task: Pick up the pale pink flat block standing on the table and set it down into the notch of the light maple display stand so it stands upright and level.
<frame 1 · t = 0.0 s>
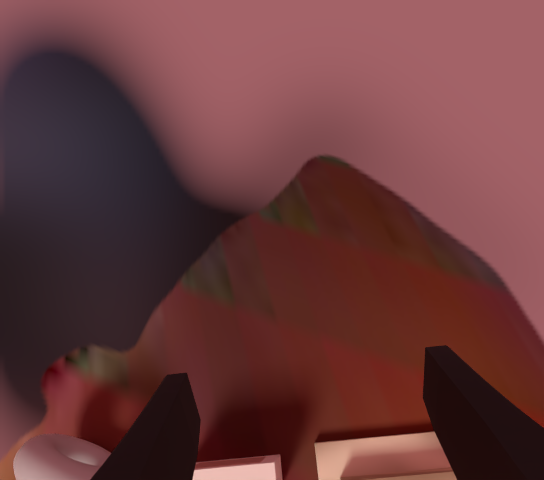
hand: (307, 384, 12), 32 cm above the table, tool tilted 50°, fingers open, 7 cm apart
pale pink flat block: (236, 472, 40), on the table
donut: (100, 463, 42), on the table
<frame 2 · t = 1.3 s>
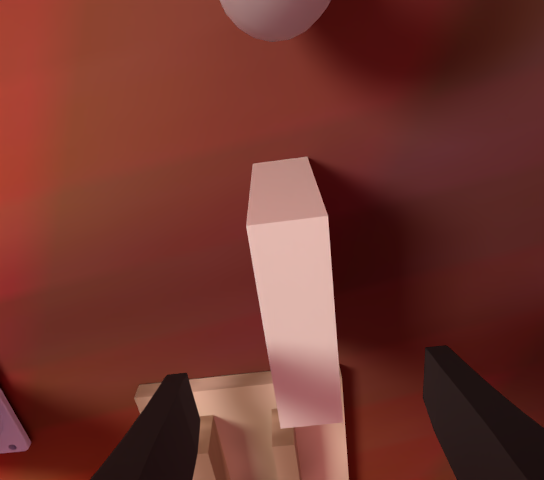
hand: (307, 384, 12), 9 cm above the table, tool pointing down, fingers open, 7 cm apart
pale pink flat block: (290, 246, 21), on the table
notched stand: (259, 471, 28), on the table
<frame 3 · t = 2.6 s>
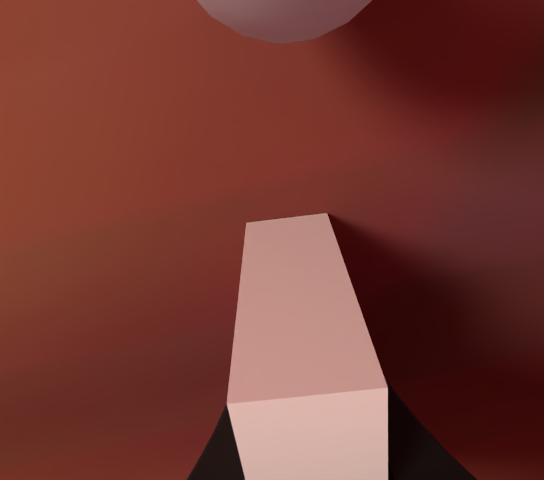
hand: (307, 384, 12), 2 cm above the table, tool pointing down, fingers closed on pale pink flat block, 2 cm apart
pale pink flat block: (300, 333, 15), on the table, touching gripper
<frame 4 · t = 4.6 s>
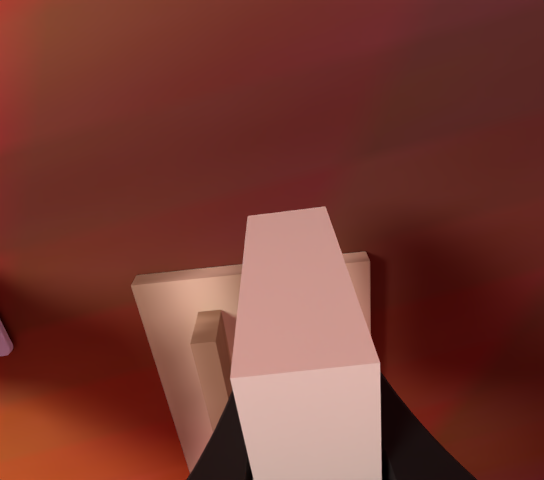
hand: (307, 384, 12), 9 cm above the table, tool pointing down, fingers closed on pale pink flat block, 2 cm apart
pale pink flat block: (300, 323, 15), point 6 cm above the table, touching gripper
notched stand: (269, 389, 25), on the table
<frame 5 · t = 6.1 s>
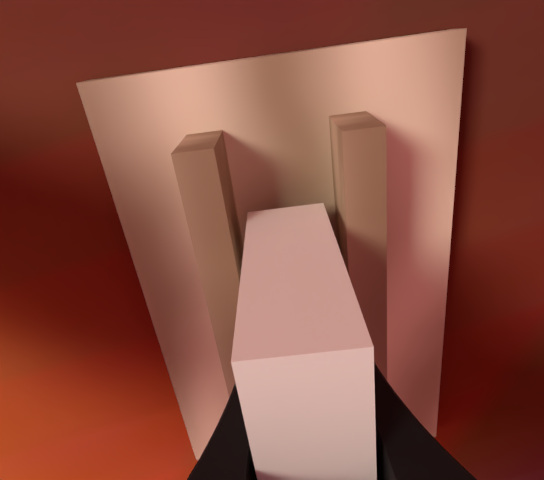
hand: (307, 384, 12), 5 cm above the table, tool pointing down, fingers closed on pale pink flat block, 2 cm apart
pale pink flat block: (298, 318, 15), point 2 cm above the table, touching gripper
notched stand: (295, 286, 17), on the table
when the fingers open (4 cm above the table, at t = 6.7 s): pale pink flat block stays where it is, resting on notched stand.
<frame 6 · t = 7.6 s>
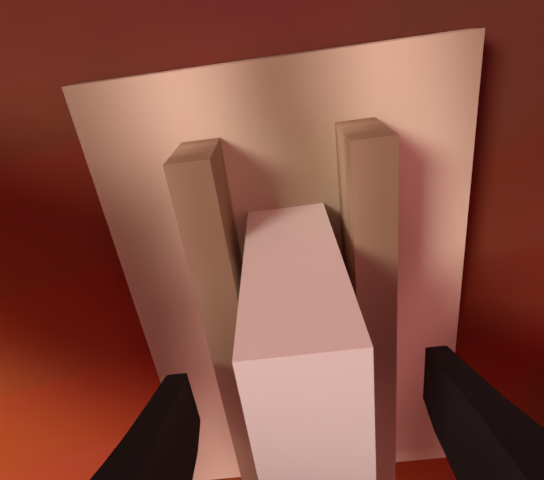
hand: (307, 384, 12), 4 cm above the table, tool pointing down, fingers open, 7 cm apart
pale pink flat block: (298, 317, 15), point 1 cm above the table, touching notched stand
notched stand: (297, 301, 16), on the table
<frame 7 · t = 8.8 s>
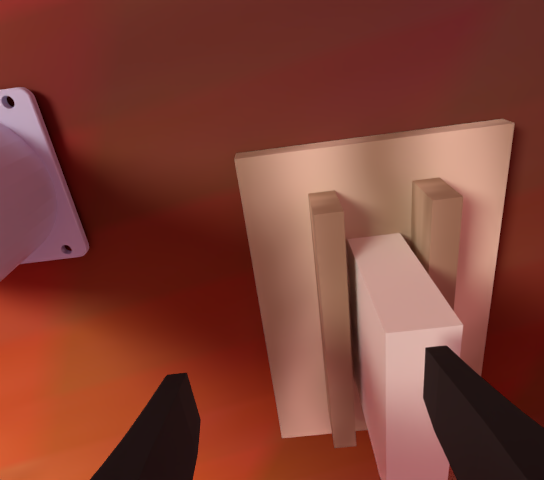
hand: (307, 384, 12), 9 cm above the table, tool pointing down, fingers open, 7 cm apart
pale pink flat block: (374, 312, 22), point 1 cm above the table, touching notched stand
notched stand: (371, 300, 22), on the table
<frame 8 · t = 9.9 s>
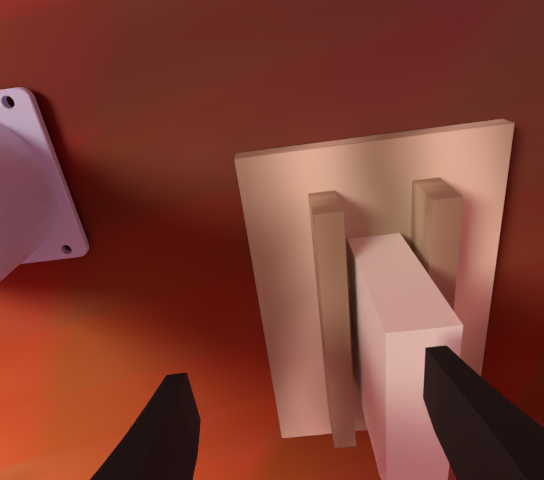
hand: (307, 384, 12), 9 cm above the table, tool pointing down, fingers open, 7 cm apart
pale pink flat block: (374, 312, 22), point 1 cm above the table, touching notched stand
notched stand: (371, 300, 22), on the table
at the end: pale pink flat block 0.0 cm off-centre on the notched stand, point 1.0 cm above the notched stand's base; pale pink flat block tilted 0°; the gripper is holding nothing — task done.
